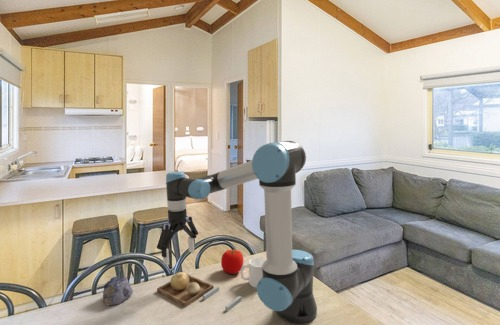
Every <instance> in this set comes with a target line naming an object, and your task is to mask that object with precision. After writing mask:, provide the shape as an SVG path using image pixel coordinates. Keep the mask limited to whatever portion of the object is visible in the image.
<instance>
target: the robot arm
mask: <svg viewBox="0 0 500 325" xmlns="http://www.w3.org/2000/svg"><path fill="white" fill-rule="evenodd" d="M252 156H253V157H252V160H249V161H246V162H244V163H241V164H237V165H235V166H233V167H230V168H226V169H224V170H221V171H218V172H216V173H213V174H208V175H204V176H200V177H197V178H195V177H194V178H188V177H186V174H185V172H184V171H170V172H167V173H166V176H165V179H166V180H165V184H166V185H165V187H166V199H167V201H166V202H167V203H166V204H167V220H168V223H167V224H166V223H163V224H162V225H161V226H162V227H161V233H160V236H159V238H158V241H157V245H156V249H157V250H159V251H160V252H161V257H162V260H163V264H164V265H166V266H169V265H170V255H169V254H170V253H169V252H170V251H169V250H170V249H169V248H168V247H169V245H170V243H171V242H172V239H173V237H174V235H176V234H177V233H179V232H180V231H184V232H185V233H186V234H187V235H188V240H187V241H188V242H187V243H188V252H189V253H191V254H194V253H195V244H196V240H195V239H196V238H197V236H198V235H199V232H198V230H197V228H196V225H195V224H194V222H193V217H192V216H190V215H188V212H187V198H190V199H195V200H205V199H207V197H208V196H209V195H210V194H213V193H217V192H220V191H224V190H226V189H229V188H233V187H235V186H239V185H242V184H245V183H249V182H251V181H255V180H259V182H258V183H259V184H258V185H259V187H260V188H261V189H262V190H264V191H263V192H264V194H263V195H264V196H263V197H264V220H265V221H264V222H265V223H264V224H265V245H266V246H265V251H266V252H265V253H266V261H265V262H264V263H263V265H262V275H263V277H262V279H260V281H259V282H258V284H257V288H256V293H257V296H258V299H259V300H260V301H261V303H263V305H264V306H265V307H266V308H268V309H269V310H271V311H275V312H276V313H277V315H278V316H279V317H280V318H281V319H283V320H284V321H286V322H289V323H291V324H292V323H293V324H307V323H310V322H312V321H314V320H315V319H316V317H317V314H318V306H317V302H316V300H315V297H314V296H315V295H314V293H313V292H314V290H313V289H314V269H315V268H314V266H315V262H314V256H313V255H312V254H311V253H310V252H307V251H305V250H301V249H293V225H292V222H293V219H292V190H293V188H294V187H295V186H296V180H297V179H296V175H297V173H299V172H300V171H301V170H302V169H303V168H304V166H305V164H306V160H307V154H306V151H305V149H304V148H303V146H302V145H301V144H299V143H298V142H295V141H293V140H283V141H276V142H275V141H273V142H269V143H266V144H263V145H261V146H260V147H258V148H257V150H256V151H255V152H254V154H253V155H252ZM186 223H187V224H186ZM187 225H188V226H187Z"/></svg>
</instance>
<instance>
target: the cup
mask: <svg viewBox="0 0 500 325" xmlns="http://www.w3.org/2000/svg"><path fill="white" fill-rule="evenodd" d="M266 260H267V258H262V257H254V258H251V259H250V260H248V264H243V266H242V268H241V270H240V278H242V279H243V280H244V281H248V284H249V286H251V287H252V288H256V289H257V284H258V282H259V281H260V279H262V277H263V275H262V265H263V263H264V262H265V261H266ZM245 268H248V277H247V276H245V275H244V269H245Z"/></svg>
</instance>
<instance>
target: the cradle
mask: <svg viewBox="0 0 500 325" xmlns="http://www.w3.org/2000/svg"><path fill="white" fill-rule="evenodd" d="M219 291H220V287H219V286H215V287H214V288H213V289H212V290H210V291H209V292H207V293H206V294H204V295H203V296H202V300H204V301H207V300H208V299H209V298H210V297H212V296H213V295H215V294H216V293H218V292H219ZM240 302H242V296H240V295H238V296H236V298H235V299H233V300H231V301H230V302H229V303H228V304H226V305H225V307H224V308H225V309H224V310H225V311H226V312H229V311H231V310H232V309H233V308H234V307H235V306H237V305H238V304H240Z"/></svg>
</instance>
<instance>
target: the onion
mask: <svg viewBox="0 0 500 325" xmlns="http://www.w3.org/2000/svg"><path fill="white" fill-rule="evenodd" d="M187 274H188V273H186V272H183V271H181V272H179V271H178V272H175V274H173V275H172V277H171V278H170V280H169V282H170V283H171V286H172V288H173V289H175V290H182V289H185V288H186V287H187V286H188V284H189V277H188V275H189V274H188V275H187Z"/></svg>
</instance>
